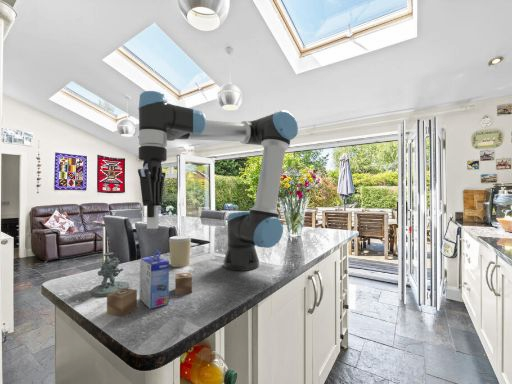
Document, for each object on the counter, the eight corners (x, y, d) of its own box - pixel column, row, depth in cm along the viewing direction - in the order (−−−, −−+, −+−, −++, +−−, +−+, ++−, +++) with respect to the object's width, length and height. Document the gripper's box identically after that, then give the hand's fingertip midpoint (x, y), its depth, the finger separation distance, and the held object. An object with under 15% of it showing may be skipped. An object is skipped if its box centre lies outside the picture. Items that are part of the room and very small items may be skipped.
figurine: (87, 299, 75) (87, 259, 75) (94, 287, 85) (94, 251, 85) (127, 293, 79) (127, 255, 79) (129, 282, 89) (129, 248, 89)
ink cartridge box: (170, 304, 71) (169, 253, 71) (150, 310, 68) (149, 256, 68) (157, 293, 79) (157, 247, 79) (138, 298, 75) (138, 250, 75)
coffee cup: (190, 260, 116) (189, 234, 116) (192, 266, 108) (192, 238, 108) (168, 262, 113) (168, 236, 113) (169, 268, 104) (169, 239, 104)
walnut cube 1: (136, 308, 69) (136, 288, 69) (122, 316, 64) (122, 295, 64) (122, 305, 71) (122, 286, 71) (107, 314, 66) (106, 293, 66)
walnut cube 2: (191, 287, 84) (191, 271, 84) (192, 292, 79) (191, 276, 79) (175, 289, 83) (175, 273, 83) (175, 295, 78) (175, 278, 78)
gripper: (150, 151, 80) (150, 225, 80) (128, 142, 67) (127, 231, 67) (173, 150, 80) (173, 225, 79) (155, 142, 67) (155, 231, 66)
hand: (152, 228), depth 73 cm, fingers closed
